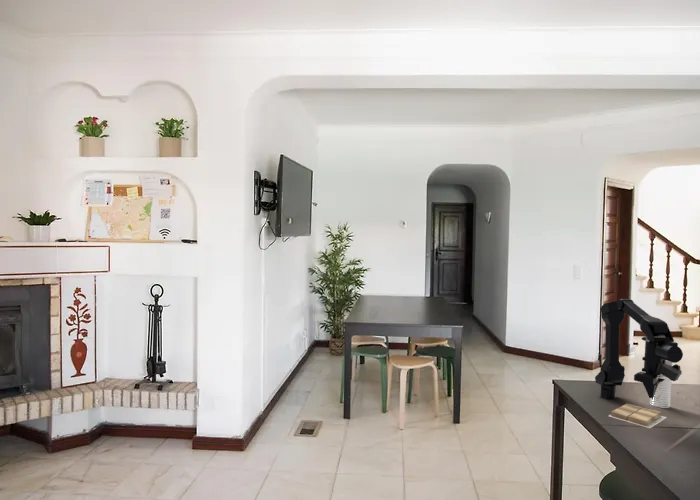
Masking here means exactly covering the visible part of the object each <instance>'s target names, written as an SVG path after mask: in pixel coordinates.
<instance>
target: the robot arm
mask: <svg viewBox="0 0 700 500" xmlns="http://www.w3.org/2000/svg"><path fill="white" fill-rule="evenodd" d="M600 314H601V320H602V321H603V322H604V324H605V347H604V348H605V349H604V350H605V352H604V354H605V358H604V360H603V362H602V363H601V365H600V371H599V372H598V373H597V374H596V375H595V377H594V381H595V383H597V384H598V385H599V386H600V388H599V389H600V390H599V397H600V398H602V399H605V400H615V399H616V395H617V392H616V391H617V386H621V387H622V385H623V382H624V379H625V377H626V375H625V370H626V369H625V365H622V364H621V362H620V325H621V324H622V323H623V321H624V319H625V314H626V315H628V316H629V317H630V318H631V319H632V320H634V321H635V322H636V323H638V325H639V329H640V331H642V333H643V334H644V336H642V337H641V340H642V341H645V344H644V356H643V357H642V360H641V361H643V367H642V368H641V371H638V372H636V373H635V374H633V381H636V382H639V383H642V385H643V387H644V389H645V391H646V393H647V395H648V398H649V399H650V398H654V395H655V392H656V390H657V387H658V384H659V383H661V382H662V381H664V380H665V379H661V378H660V376H659V375H661V374H662V375H664V376H666V377H667V378H669V379H670V380H672V382H676V381H678V380H679V378H680V377H681V376H682V375H683V373H682V372H683V371H682V370H681V365H680V364H676V363H679V362H680V361H681V360H682V358H683V357H684V353H683V350H682V349H681V347H680V346H679V343H678V342H676V341H675V339H674V336H673V334H672V333H671V330H670V328H669V325H668V323H667V322H666V321H664V320H663V319H662V318H661V319H660V318H658V317H655V316H652V315H650V314H649V313H648V312H646V311H645V310H644V309H642V308H641V307H640V306H638V305H637V304H636V303H635V302H634V301H633V299H630V298H619V299H617V300H615V301H610V302H604V303H603V304H602V305H601V307H600ZM666 360H667V361H670V362H672V366H671V365H668V364H666ZM673 363H674V364H673Z"/></svg>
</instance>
